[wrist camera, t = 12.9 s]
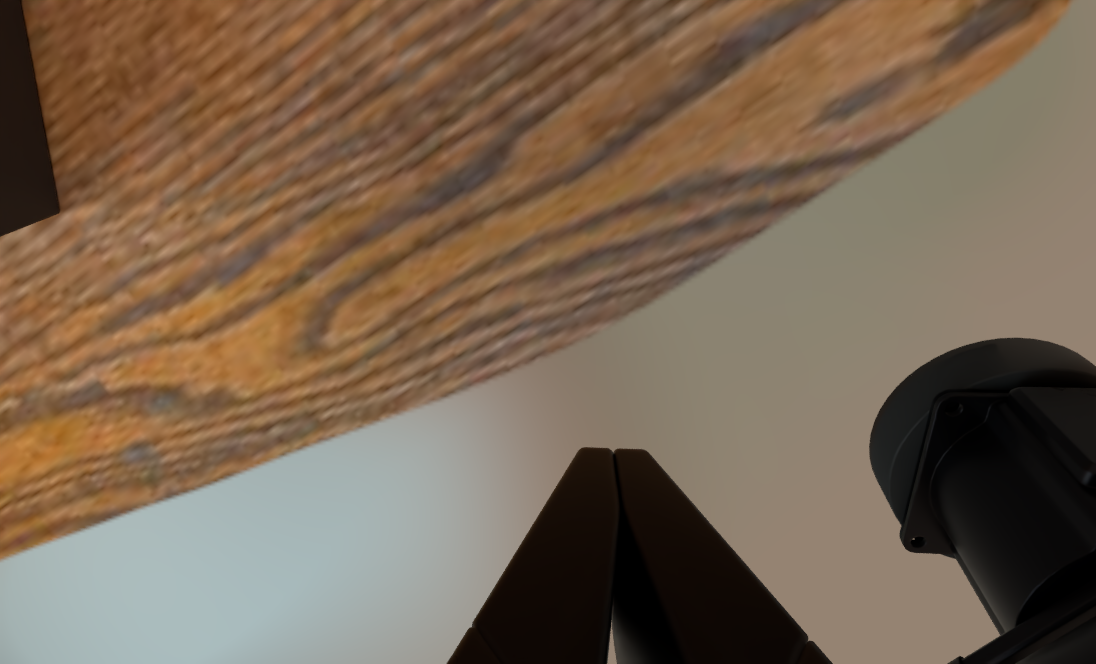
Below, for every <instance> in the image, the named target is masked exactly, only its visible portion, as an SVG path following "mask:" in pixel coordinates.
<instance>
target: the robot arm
mask: <svg viewBox="0 0 1096 664" xmlns="http://www.w3.org/2000/svg"><path fill="white" fill-rule="evenodd" d="M953 402H957V403H956V405H955V406H954V407H952V408H950V409H945V408H946V406H947V405H948V404H950V403H953ZM899 534H900V535H899V536H900V539H901V541H902V543H903V545H904V547H905V549H906V550H908V551H910V552H914V553H932V554H954V556H955V558H956V560H957V561H958V563H959V565H960V566H961V568H962V570H963V571H964V573H965V575H966V576H967V578H968V580H969V582H970V584H971V585H972V587H973V589H974V591H975V592H976V594H977V596H978V597H979V599H980V601H981V603H982V604H983V606H984V608H985V610H986V611H987V613H988V615H989V616H990V618H991V620H992V622H993V623H994V625H995V627H996V628H997V630H998V632H999V634H1000V635H1001V636H999V637H998V638H996V639H994V640H993V641H991V642H989V643H988V644H986V645H984V646H983V647H981V648H980V649H978V650H976V651H975V652H973V653H972V654H970V655H968V656H967V657H965V658H963V657H961V656H959V657H957V658H956V659H954V660H953V661H951V662H950V663H948V664H1096V388H1053V387H1018V388H1015V389H1012V390H982V389H947V390H944V391H942V392H939V393H938V394H937V395H936V396H935V397H934V399H933V401H932V404H931V408H930V412H929V416H928V420H927V424H926V428H925V432H924V436H923V440H922V444H921V448H920V452H919V456H918V460H917V464H916V468H915V472H914V476H913V480H912V484H911V489H910V493H909V497H908V501H907V505H906V509H905V513H904V517H903V521H902V525H901V529H900V533H899ZM919 536H920V537H919ZM915 537H919V538H918V539H913V538H915ZM611 620H612V630H613V638H614V646H615V653H616V660H617V664H833V663H832V662H831V661H830V660H829V659H828V658H827V657H826V655H825V654H824V653H823V652H822V651H821V650H820V649H819V647H818V646H817V645H816V644H815V643H814V642H813V641H808V636H807V634H806V633H805V632H804V631H803V630H802V629H801V627H800V626H799V625H798V624H797V623H796V621H795V620H794V619H793V618H792V617H791V616H790V615H789V614H788V612H787V611H786V610H785V609H784V608H783V607H782V605H781V604H780V603H779V602H778V601H777V600H776V598H775V597H774V596H773V595H772V594H771V593H770V592H769V591H768V589H767V588H766V587H765V586H764V585H763V583H762V582H761V581H760V580H759V579H758V578H757V577H756V575H755V574H754V573H753V572H752V571H751V570H750V569H749V567H748V566H747V565H746V564H745V563H744V562H743V561H742V560H741V558H740V557H739V556H738V555H737V554H736V552H735V551H734V550H733V549H732V548H731V547H730V546H729V545H728V543H727V542H726V541H725V540H724V539H723V538H722V536H721V535H720V534H719V533H718V532H717V531H716V529H715V528H714V527H713V526H712V525H711V524H710V523H709V521H708V520H707V519H706V518H705V517H704V516H703V515H702V514H701V512H700V511H699V510H698V509H697V508H696V506H695V505H694V504H693V503H692V502H691V501H690V500H689V498H688V497H687V496H686V495H685V494H684V493H683V492H682V490H681V489H680V488H679V487H678V486H677V485H676V484H675V482H674V481H673V480H672V479H671V478H670V477H669V475H668V474H667V473H666V472H665V471H664V470H663V469H662V467H661V466H660V465H659V464H658V463H657V462H656V461H655V459H654V458H653V457H652V456H651V455H650V454H649V453H648V452H647V451H645V450H642V449H616V450H615V451H614V453H613V452H612V451H611V450H610V449H609V448H590V447H584V448H581V449H580V450H579V451H578V452H577V454H576V456H575V457H574V459H573V460H572V462H571V463H570V465H569V467H568V468H567V470H566V472H565V473H564V475H563V477H562V478H561V480H560V481H559V483H558V485H557V486H556V488H555V489H554V491H553V493H552V494H551V496H550V498H549V499H548V501H547V502H546V504H545V506H544V507H543V509H542V511H541V512H540V514H539V515H538V517H537V519H536V521H535V522H534V524H533V525H532V527H531V528H530V530H529V532H528V533H527V535H526V537H525V538H524V540H523V541H522V543H521V545H520V546H519V548H518V550H517V551H516V553H515V554H514V556H513V558H512V559H511V561H510V563H509V564H508V566H507V567H506V569H505V571H504V572H503V574H502V576H501V577H500V579H499V581H498V582H497V584H496V585H495V587H494V589H493V590H492V592H491V593H490V595H489V597H488V598H487V600H486V602H485V603H484V605H483V607H482V608H481V610H480V611H479V613H478V615H477V616H476V618H475V619H474V621H473V624H472V627H471V628H469V629H468V630H467V632H466V633H465V635H464V637H463V639H462V640H461V642H460V643H459V645H458V646H457V648H456V650H455V651H454V653H453V655H452V656H451V658H450V659H449V661H448V662H447V664H607V661H608V651H609V641H610V631H611Z"/></svg>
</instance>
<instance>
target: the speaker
mask: <svg viewBox="0 0 1096 664" xmlns="http://www.w3.org/2000/svg"><path fill="white" fill-rule="evenodd" d="M58 213H59V207H58V202H57V196H56V191H55V186H54V180H53V175H52V170H51V164H50V159H49V154H48V148H47V143H46V138H45V132H44V127H43V122H42V116H41V111H40V105H39V100H38V95H37V89H36V84H35V79H34V73H33V68H32V63H31V57H30V52H29V47H28V41H27V36H26V31H25V25H24V20H23V15H22V9H21V4H20V0H0V236H3V235H5V234H8V233H10V232H13V231H15V230H18V229H21V228H23V227H26V226H28V225H31V224H33V223H36V222H38V221H41V220H43V219H46V218H48V217H51V216H53V215H56V214H58Z"/></svg>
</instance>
